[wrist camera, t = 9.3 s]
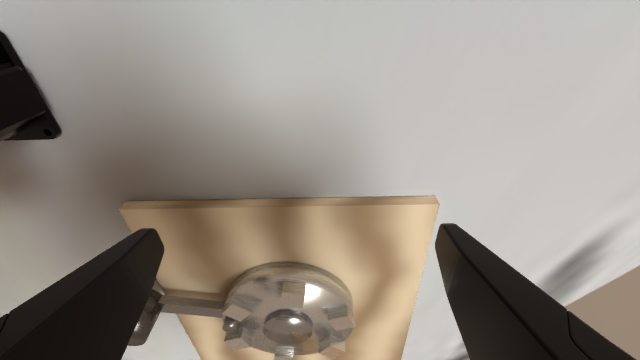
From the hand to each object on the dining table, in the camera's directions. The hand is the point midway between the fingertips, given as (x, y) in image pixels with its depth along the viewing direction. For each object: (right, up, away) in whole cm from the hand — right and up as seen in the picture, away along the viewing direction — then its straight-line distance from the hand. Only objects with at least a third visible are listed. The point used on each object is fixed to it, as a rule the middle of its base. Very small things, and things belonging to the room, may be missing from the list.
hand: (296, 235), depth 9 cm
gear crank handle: (-6, -10, +19) cm, 22 cm away
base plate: (-5, -10, +20) cm, 23 cm away
